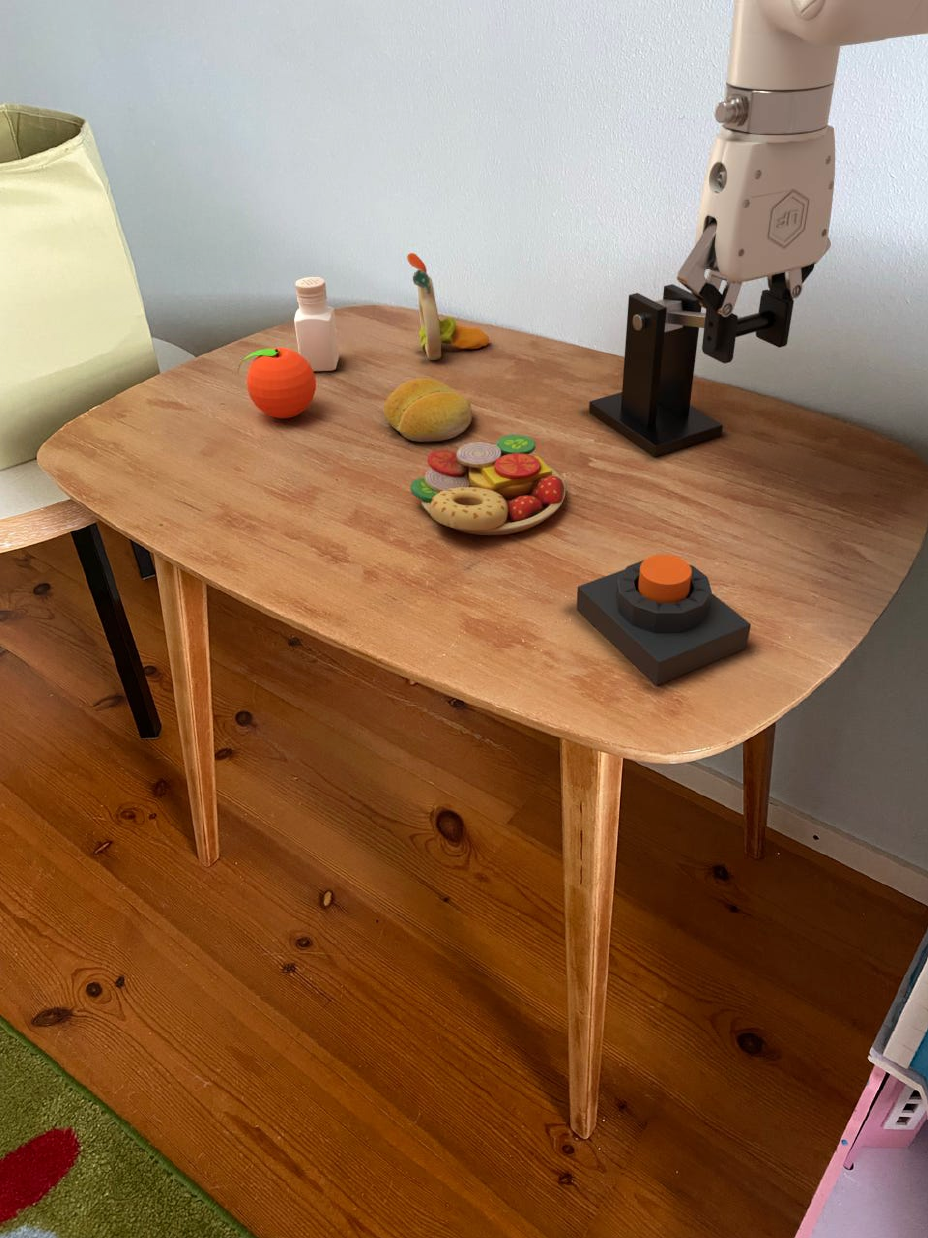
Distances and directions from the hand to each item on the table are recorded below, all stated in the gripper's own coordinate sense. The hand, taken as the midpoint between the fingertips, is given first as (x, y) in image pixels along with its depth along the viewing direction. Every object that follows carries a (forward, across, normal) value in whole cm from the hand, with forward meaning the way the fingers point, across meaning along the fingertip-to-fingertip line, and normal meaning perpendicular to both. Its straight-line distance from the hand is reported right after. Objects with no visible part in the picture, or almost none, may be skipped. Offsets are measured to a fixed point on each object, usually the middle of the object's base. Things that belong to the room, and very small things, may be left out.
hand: (744, 347), depth 83 cm
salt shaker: (+11, -23, +42) cm, 49 cm away
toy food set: (+12, -21, +7) cm, 25 cm away
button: (+9, -19, -15) cm, 26 cm away
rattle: (+11, -9, +37) cm, 40 cm away
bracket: (+12, 0, +11) cm, 16 cm away
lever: (+1, 0, +6) cm, 6 cm away
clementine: (+11, -31, +33) cm, 47 cm away
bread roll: (+12, -19, +23) cm, 32 cm away
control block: (+12, -19, -15) cm, 27 cm away
